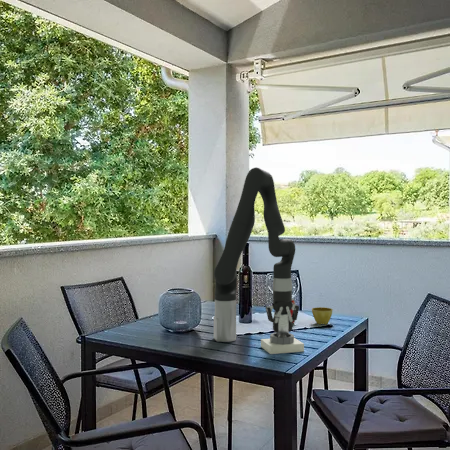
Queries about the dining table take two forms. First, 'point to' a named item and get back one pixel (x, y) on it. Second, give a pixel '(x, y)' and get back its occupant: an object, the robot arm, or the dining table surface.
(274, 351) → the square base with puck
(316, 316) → the flower pot
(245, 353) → the dining table surface
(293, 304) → the soda can
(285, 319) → the pale grey cylinder
